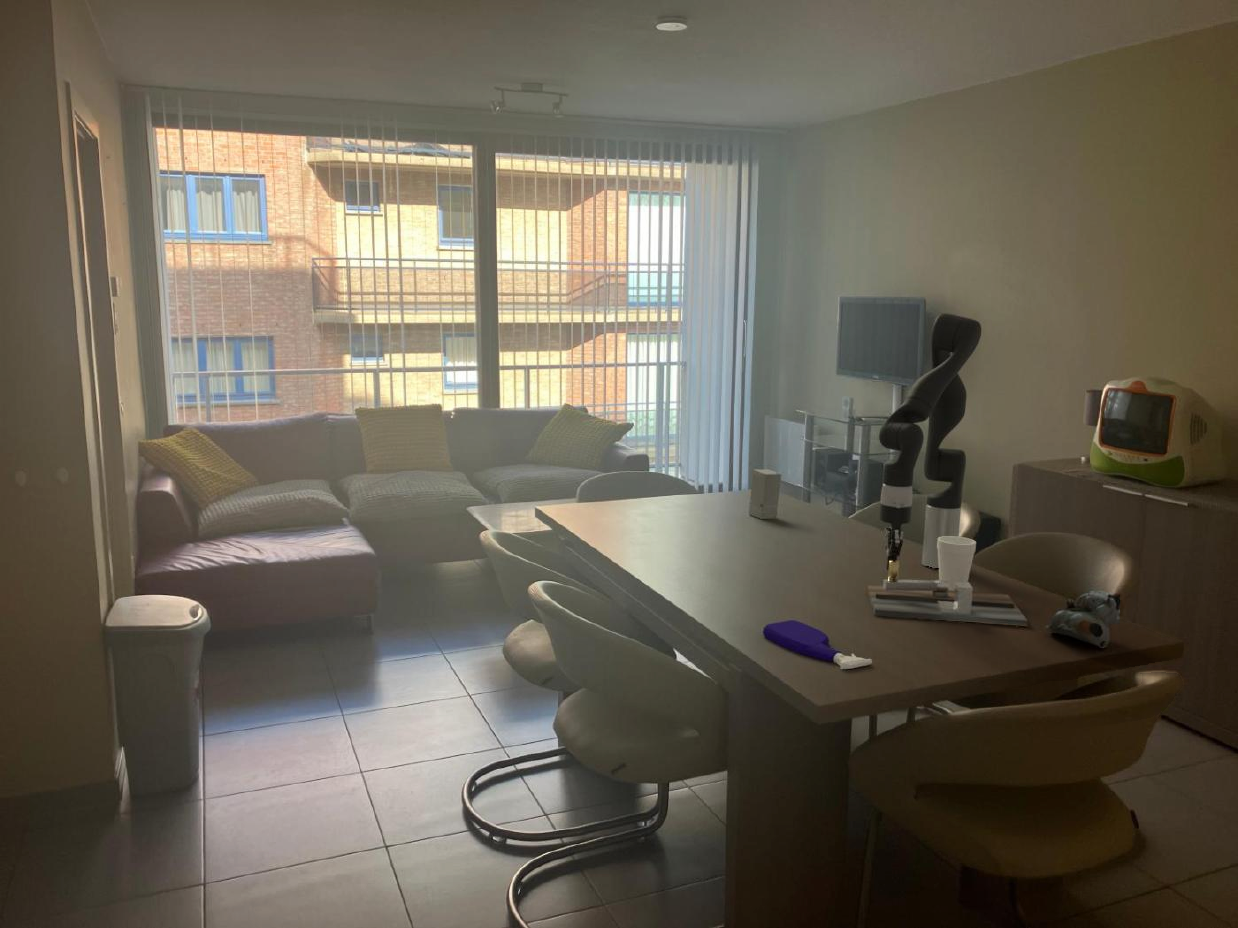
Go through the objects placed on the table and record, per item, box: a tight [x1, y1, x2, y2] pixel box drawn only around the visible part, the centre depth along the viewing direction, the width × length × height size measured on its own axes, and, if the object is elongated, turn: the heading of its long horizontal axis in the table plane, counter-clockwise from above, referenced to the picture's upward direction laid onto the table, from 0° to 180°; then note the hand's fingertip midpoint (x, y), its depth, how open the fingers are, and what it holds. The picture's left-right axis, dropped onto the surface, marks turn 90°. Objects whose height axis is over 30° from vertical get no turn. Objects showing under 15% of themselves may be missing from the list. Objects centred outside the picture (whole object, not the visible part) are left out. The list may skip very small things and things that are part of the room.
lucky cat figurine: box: [1044, 590, 1122, 647], centre depth 218 cm, size 15×12×14 cm
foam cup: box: [937, 536, 977, 591], centre depth 255 cm, size 10×9×13 cm
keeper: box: [937, 581, 974, 615], centre depth 233 cm, size 6×7×6 cm
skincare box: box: [748, 468, 782, 520], centre depth 337 cm, size 8×7×16 cm
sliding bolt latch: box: [867, 584, 1028, 626], centre depth 240 cm, size 21×34×3 cm, turn 81°
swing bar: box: [882, 559, 949, 592], centre depth 244 cm, size 16×4×7 cm, turn 92°
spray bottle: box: [762, 619, 873, 670], centre depth 208 cm, size 3×11×24 cm
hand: (891, 570), depth 248 cm, fingers closed
